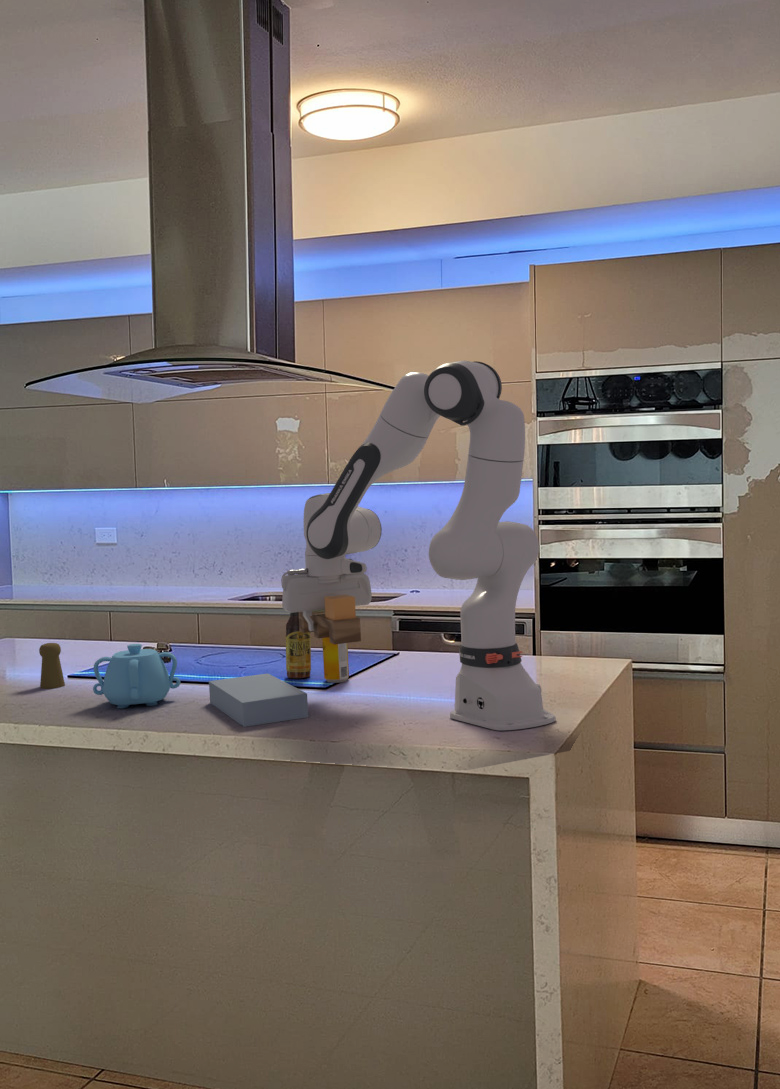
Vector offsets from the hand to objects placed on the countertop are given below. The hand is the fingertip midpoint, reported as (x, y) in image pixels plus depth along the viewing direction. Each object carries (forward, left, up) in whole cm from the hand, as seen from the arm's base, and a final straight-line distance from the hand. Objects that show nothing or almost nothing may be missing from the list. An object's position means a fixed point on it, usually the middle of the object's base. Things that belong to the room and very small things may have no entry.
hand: (328, 628), depth 225 cm
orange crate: (-8, 0, +3) cm, 8 cm away
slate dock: (+2, +17, -16) cm, 23 cm away
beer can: (+20, -9, -16) cm, 27 cm away
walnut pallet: (0, 0, -2) cm, 2 cm away
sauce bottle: (+30, -3, -16) cm, 34 cm away
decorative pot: (+26, +38, -16) cm, 49 cm away
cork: (+59, +53, -16) cm, 81 cm away
